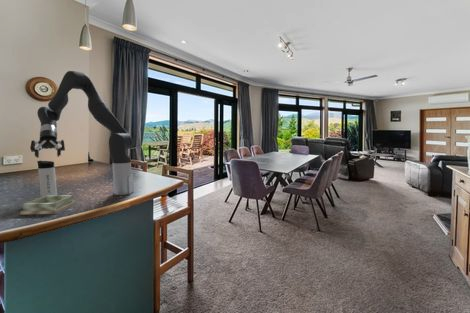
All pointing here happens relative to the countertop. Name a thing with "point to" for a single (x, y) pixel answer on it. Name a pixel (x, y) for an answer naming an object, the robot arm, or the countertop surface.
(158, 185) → the countertop surface
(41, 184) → the travel mug
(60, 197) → the green square tray
